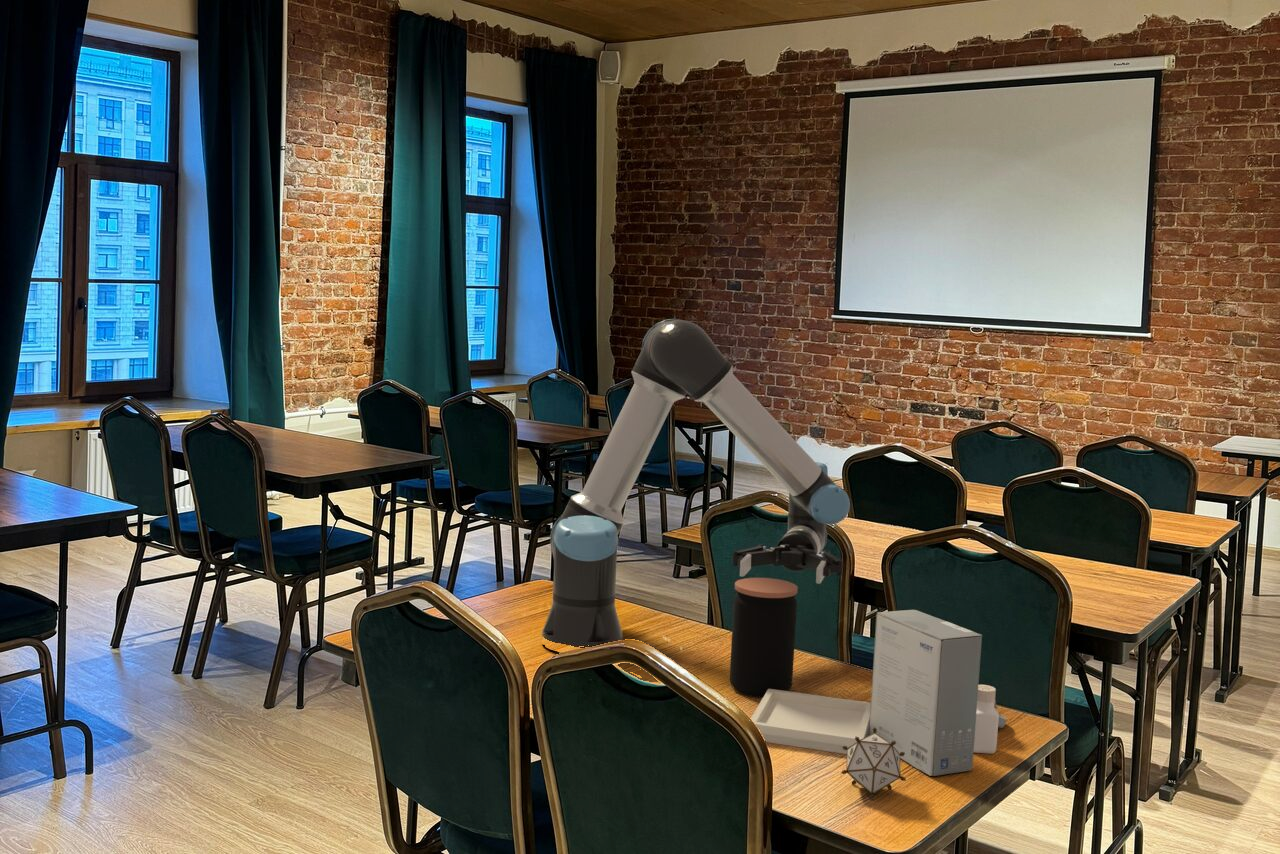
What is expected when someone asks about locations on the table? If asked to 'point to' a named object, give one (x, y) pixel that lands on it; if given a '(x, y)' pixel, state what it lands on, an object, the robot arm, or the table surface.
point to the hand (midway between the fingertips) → (779, 572)
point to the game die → (873, 763)
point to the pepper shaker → (986, 721)
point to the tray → (811, 720)
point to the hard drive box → (926, 690)
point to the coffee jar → (763, 636)
